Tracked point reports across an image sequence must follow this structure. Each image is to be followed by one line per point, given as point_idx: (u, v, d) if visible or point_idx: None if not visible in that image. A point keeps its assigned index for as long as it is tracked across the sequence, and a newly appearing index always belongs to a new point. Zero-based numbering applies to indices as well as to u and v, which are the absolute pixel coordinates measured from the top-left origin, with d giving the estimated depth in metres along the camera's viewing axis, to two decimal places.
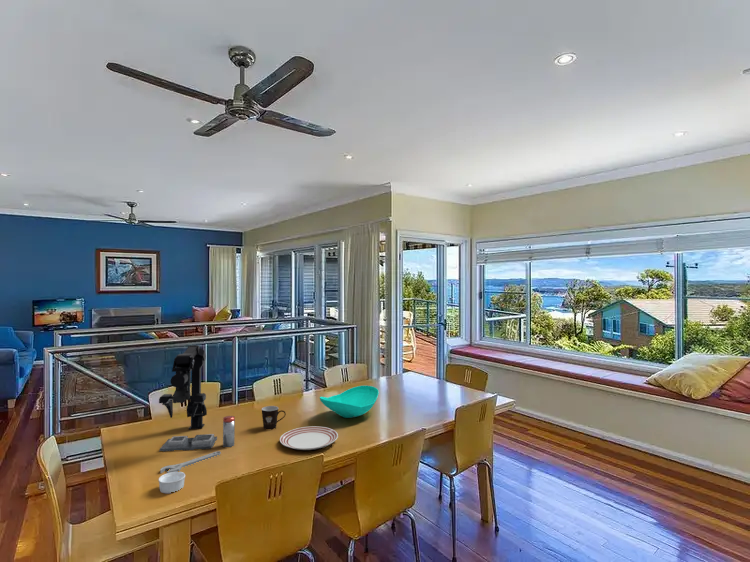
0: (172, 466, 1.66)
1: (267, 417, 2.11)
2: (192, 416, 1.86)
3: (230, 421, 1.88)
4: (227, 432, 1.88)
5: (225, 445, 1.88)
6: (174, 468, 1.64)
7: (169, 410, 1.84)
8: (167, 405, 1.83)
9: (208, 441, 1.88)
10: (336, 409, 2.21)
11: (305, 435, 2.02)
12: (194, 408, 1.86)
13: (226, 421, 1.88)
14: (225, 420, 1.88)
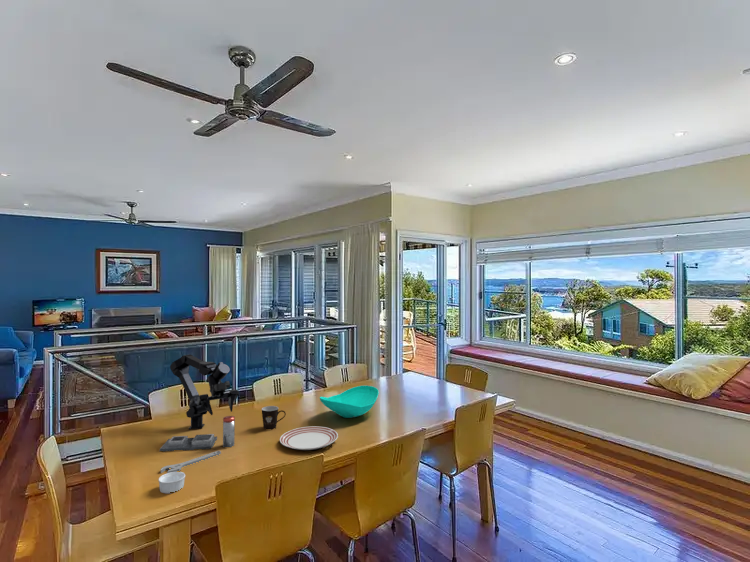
0: (172, 466, 1.66)
1: (267, 417, 2.11)
2: (231, 410, 1.99)
3: (230, 421, 1.88)
4: (227, 432, 1.88)
5: (225, 445, 1.88)
6: (174, 468, 1.64)
7: (209, 407, 1.94)
8: (208, 401, 1.95)
9: (208, 441, 1.88)
10: (336, 409, 2.21)
11: (305, 435, 2.02)
12: (232, 402, 2.01)
13: (226, 421, 1.88)
14: (225, 420, 1.88)
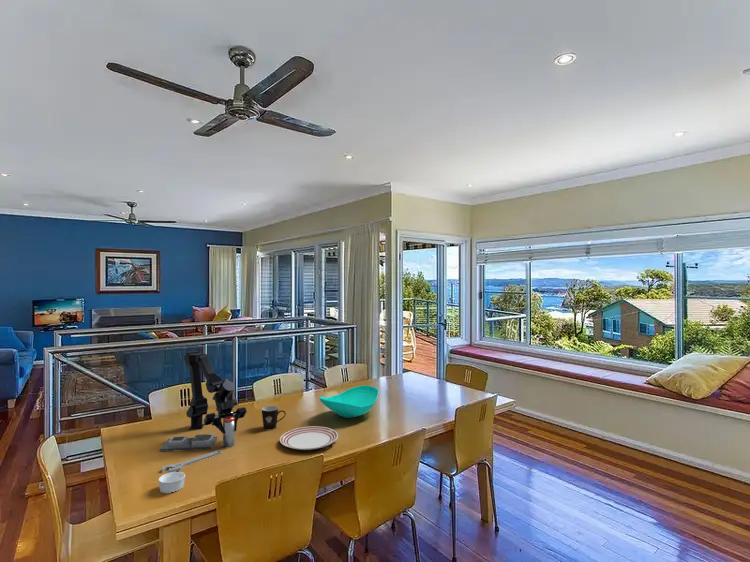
0: (173, 465, 1.67)
1: (267, 417, 2.11)
2: (235, 429, 1.91)
3: (230, 421, 1.88)
4: (227, 432, 1.88)
5: (225, 445, 1.88)
6: (175, 467, 1.65)
7: (221, 425, 1.89)
8: (219, 419, 1.89)
9: (208, 441, 1.88)
10: (336, 409, 2.21)
11: (305, 435, 2.02)
12: (235, 421, 1.93)
13: (226, 421, 1.88)
14: (225, 420, 1.88)
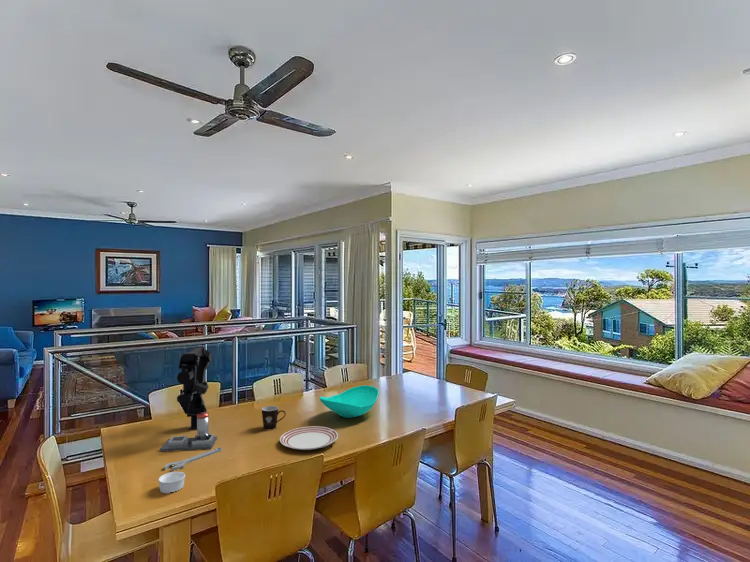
0: (176, 463, 1.69)
1: (267, 417, 2.11)
2: (193, 407, 2.04)
3: (203, 417, 1.89)
4: (200, 428, 1.89)
5: None
6: (178, 464, 1.67)
7: (188, 406, 1.95)
8: (190, 401, 1.95)
9: (208, 441, 1.88)
10: (336, 409, 2.21)
11: (305, 435, 2.02)
12: (195, 399, 2.05)
13: (199, 417, 1.89)
14: (198, 416, 1.89)
